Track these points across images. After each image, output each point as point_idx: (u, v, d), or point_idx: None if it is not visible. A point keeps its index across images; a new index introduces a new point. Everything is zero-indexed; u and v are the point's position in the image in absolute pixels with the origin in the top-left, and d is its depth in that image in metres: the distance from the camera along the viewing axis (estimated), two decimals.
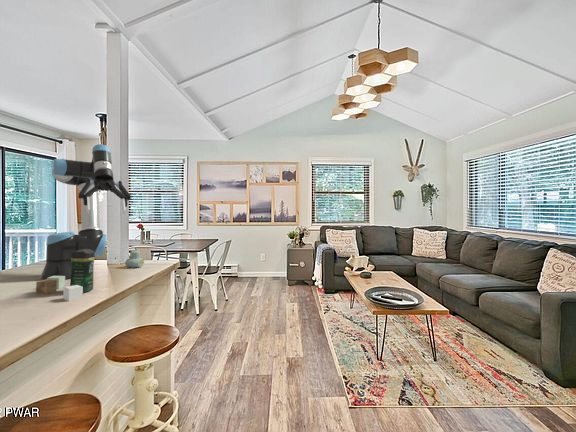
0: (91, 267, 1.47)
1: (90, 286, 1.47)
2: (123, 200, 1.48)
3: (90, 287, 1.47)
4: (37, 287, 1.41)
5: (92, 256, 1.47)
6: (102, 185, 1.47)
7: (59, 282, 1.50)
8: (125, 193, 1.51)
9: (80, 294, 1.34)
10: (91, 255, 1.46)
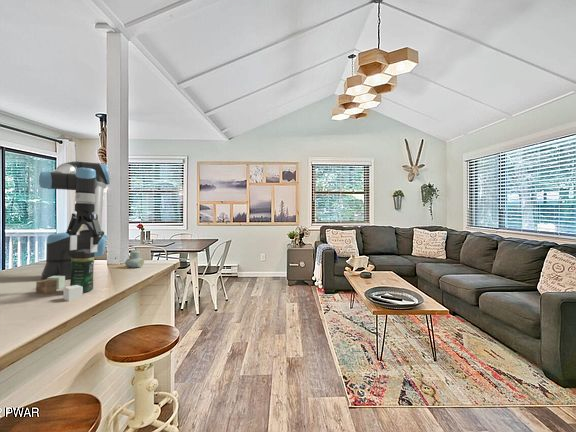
0: (91, 267, 1.47)
1: (90, 286, 1.47)
2: (91, 240, 1.43)
3: (90, 287, 1.47)
4: (37, 287, 1.41)
5: (92, 256, 1.47)
6: (80, 221, 1.46)
7: (59, 282, 1.50)
8: (94, 230, 1.43)
9: (80, 294, 1.34)
10: (91, 255, 1.46)
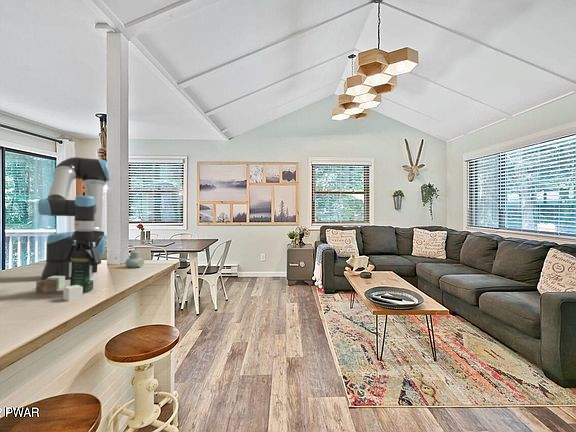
0: None
1: (90, 286, 1.47)
2: (90, 268, 1.43)
3: (90, 287, 1.47)
4: (37, 287, 1.41)
5: None
6: (79, 248, 1.46)
7: (59, 282, 1.50)
8: None
9: (80, 294, 1.34)
10: None
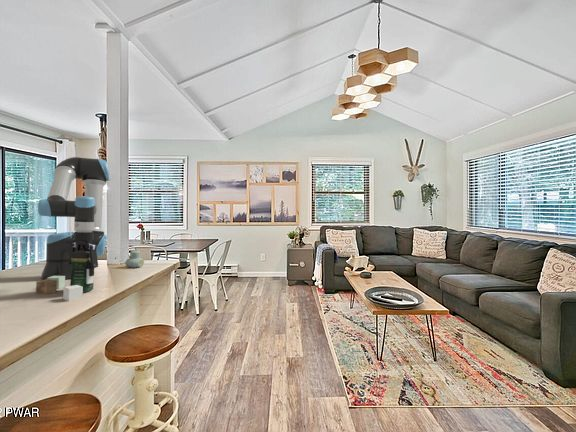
0: None
1: (90, 286, 1.47)
2: (87, 271, 1.44)
3: (90, 287, 1.47)
4: (37, 287, 1.41)
5: None
6: (79, 249, 1.46)
7: (59, 282, 1.50)
8: (91, 261, 1.43)
9: (80, 294, 1.34)
10: None
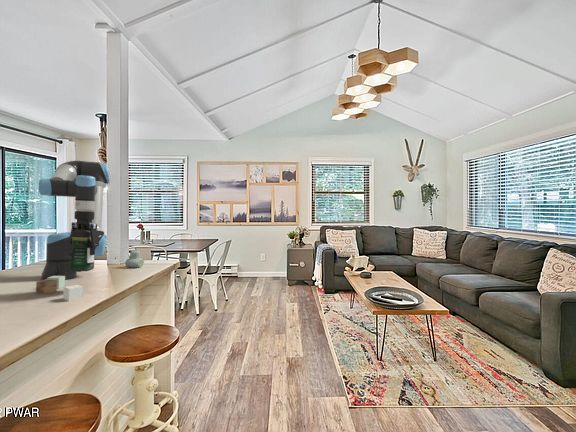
0: None
1: (91, 266, 1.47)
2: (87, 250, 1.44)
3: (91, 267, 1.47)
4: (37, 287, 1.41)
5: None
6: (80, 228, 1.46)
7: (59, 282, 1.50)
8: None
9: (80, 294, 1.34)
10: None
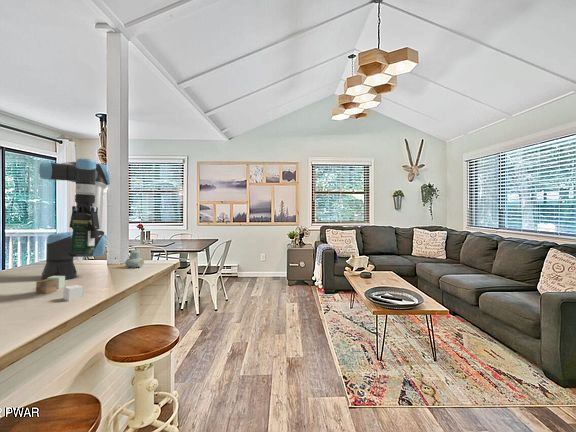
0: None
1: (92, 249, 1.47)
2: (88, 233, 1.44)
3: (92, 250, 1.47)
4: (37, 287, 1.41)
5: None
6: None
7: (59, 282, 1.50)
8: (92, 223, 1.43)
9: (80, 294, 1.34)
10: None
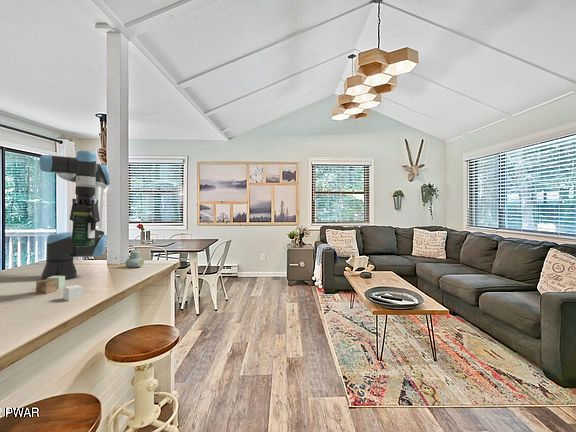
0: None
1: (92, 241, 1.47)
2: (88, 226, 1.44)
3: (92, 243, 1.47)
4: (37, 287, 1.41)
5: None
6: (80, 204, 1.46)
7: (59, 282, 1.50)
8: None
9: (80, 294, 1.34)
10: None
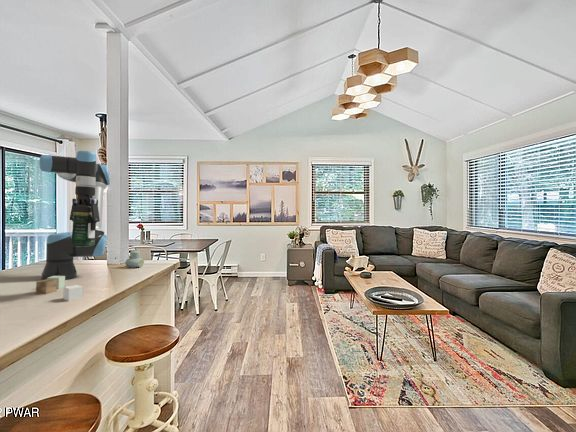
0: None
1: (92, 241, 1.47)
2: (88, 226, 1.44)
3: (92, 243, 1.47)
4: (37, 287, 1.41)
5: None
6: (80, 204, 1.46)
7: (59, 282, 1.50)
8: None
9: (80, 294, 1.34)
10: None
